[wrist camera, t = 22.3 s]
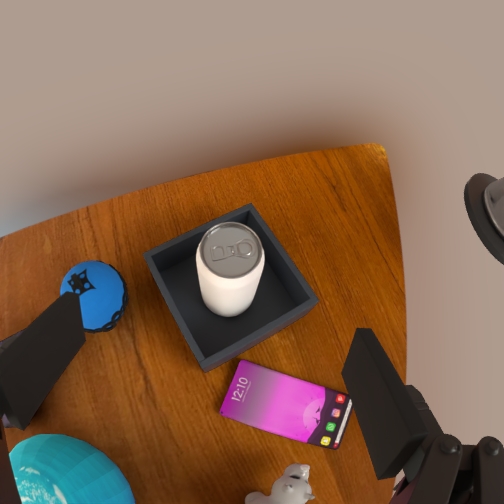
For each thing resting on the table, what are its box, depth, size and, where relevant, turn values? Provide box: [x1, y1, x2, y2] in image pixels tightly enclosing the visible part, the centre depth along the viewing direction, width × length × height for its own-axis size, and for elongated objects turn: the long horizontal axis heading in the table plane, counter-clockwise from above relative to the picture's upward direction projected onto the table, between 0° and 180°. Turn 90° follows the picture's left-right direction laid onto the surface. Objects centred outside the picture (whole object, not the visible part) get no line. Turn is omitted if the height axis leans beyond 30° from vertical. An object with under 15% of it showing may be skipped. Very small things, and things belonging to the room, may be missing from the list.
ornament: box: [60, 261, 128, 333], centre depth 32 cm, size 9×9×10 cm
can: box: [196, 222, 265, 317], centre depth 33 cm, size 6×6×12 cm
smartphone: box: [220, 360, 353, 450], centre depth 33 cm, size 7×15×1 cm, turn 69°
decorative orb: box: [9, 434, 135, 504], centre depth 19 cm, size 15×15×15 cm
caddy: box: [143, 203, 319, 373], centre depth 37 cm, size 15×15×6 cm
